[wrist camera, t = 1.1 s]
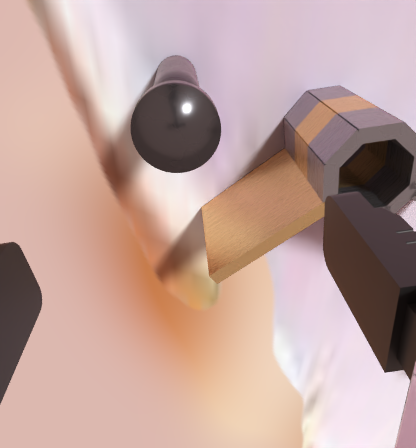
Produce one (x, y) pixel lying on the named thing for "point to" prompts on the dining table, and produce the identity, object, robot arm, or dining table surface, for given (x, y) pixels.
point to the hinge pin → (175, 120)
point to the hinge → (311, 177)
